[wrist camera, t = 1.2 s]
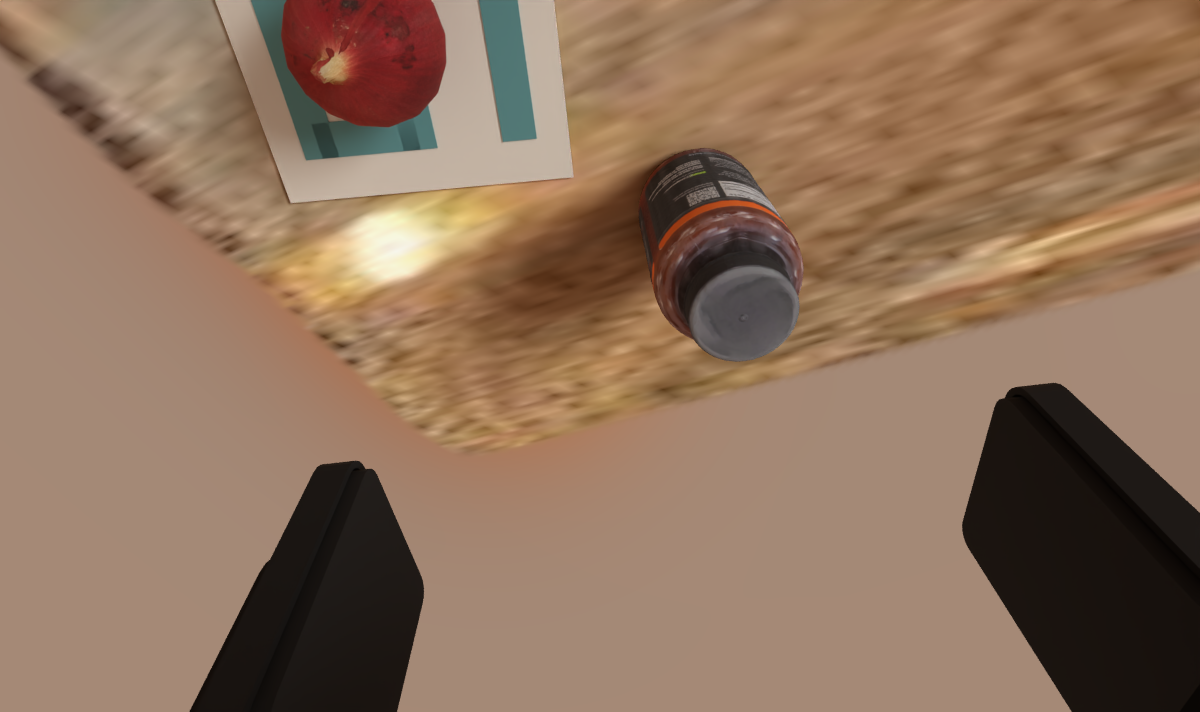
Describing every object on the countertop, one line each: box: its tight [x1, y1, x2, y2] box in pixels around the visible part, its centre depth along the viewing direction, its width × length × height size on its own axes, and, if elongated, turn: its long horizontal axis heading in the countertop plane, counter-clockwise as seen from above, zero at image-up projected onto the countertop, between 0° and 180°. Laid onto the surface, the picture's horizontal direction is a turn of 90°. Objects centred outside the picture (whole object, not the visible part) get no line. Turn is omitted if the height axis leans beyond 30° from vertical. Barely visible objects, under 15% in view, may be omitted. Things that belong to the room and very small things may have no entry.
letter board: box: [215, 0, 573, 203], centre depth 27 cm, size 14×14×1 cm
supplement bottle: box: [639, 148, 804, 362], centre depth 27 cm, size 6×6×11 cm
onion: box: [281, 0, 446, 127], centre depth 24 cm, size 6×6×8 cm
